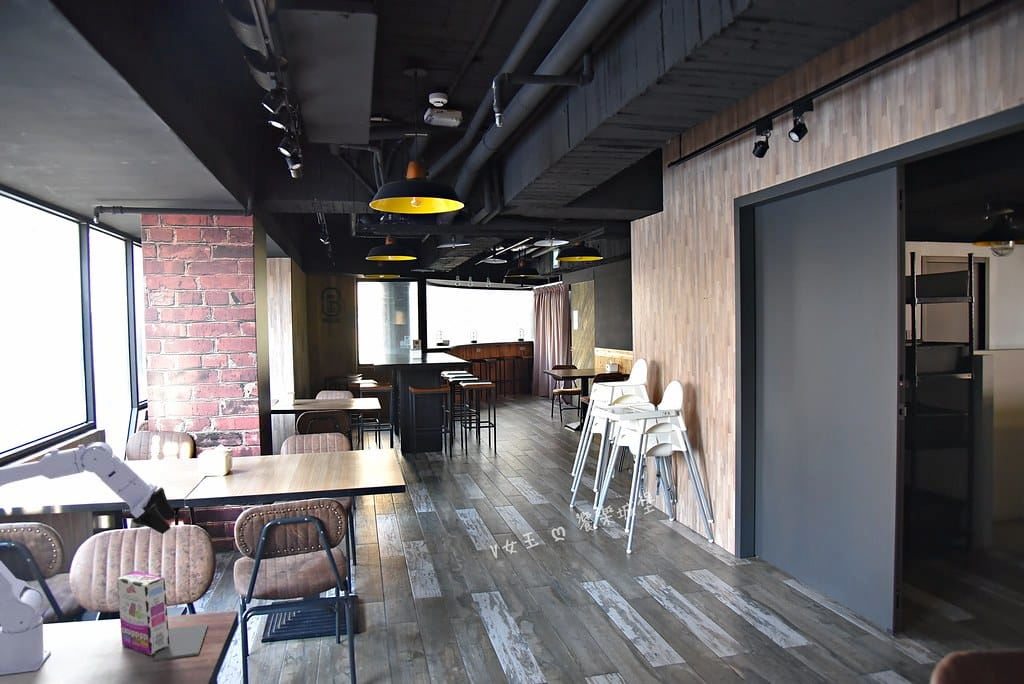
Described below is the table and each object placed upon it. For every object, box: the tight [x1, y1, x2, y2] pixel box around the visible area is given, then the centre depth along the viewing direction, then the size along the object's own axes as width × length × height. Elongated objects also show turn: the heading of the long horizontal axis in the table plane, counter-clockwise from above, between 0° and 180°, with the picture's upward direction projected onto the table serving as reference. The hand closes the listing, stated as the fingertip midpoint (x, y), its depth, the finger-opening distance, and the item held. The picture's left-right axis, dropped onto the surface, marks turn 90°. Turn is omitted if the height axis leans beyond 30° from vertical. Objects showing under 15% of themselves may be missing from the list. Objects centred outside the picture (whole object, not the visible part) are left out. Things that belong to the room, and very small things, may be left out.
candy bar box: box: [116, 570, 170, 656], centre depth 151 cm, size 11×5×16 cm, turn 62°
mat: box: [153, 624, 209, 661], centre depth 154 cm, size 9×14×1 cm, turn 17°
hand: (169, 523), depth 155 cm, fingers open, 7 cm apart
